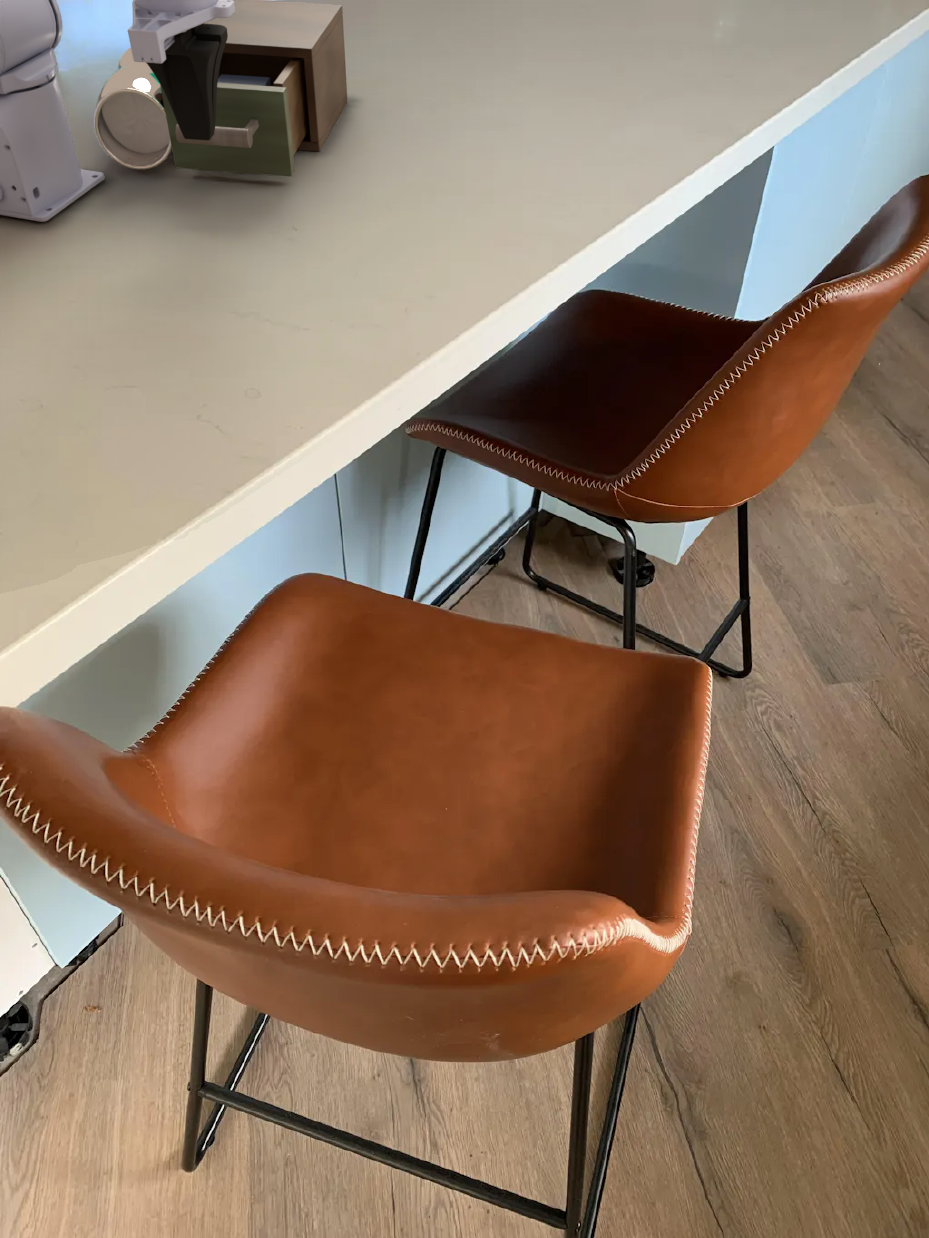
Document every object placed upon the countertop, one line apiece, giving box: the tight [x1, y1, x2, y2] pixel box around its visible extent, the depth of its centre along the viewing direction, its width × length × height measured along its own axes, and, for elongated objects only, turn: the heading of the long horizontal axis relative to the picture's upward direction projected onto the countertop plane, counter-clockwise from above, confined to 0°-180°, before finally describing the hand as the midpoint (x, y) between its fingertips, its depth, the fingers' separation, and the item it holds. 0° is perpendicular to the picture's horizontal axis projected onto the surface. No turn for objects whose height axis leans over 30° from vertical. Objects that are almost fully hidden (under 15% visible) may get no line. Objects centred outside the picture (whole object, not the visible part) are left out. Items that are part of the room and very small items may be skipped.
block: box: [218, 75, 271, 86], centre depth 84 cm, size 4×4×4 cm
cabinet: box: [204, 0, 348, 152], centre depth 91 cm, size 14×12×9 cm
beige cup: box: [93, 47, 172, 171], centre depth 87 cm, size 7×7×15 cm
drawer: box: [160, 53, 310, 177], centre depth 84 cm, size 17×10×7 cm, turn 174°
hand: (199, 136), depth 74 cm, fingers closed
